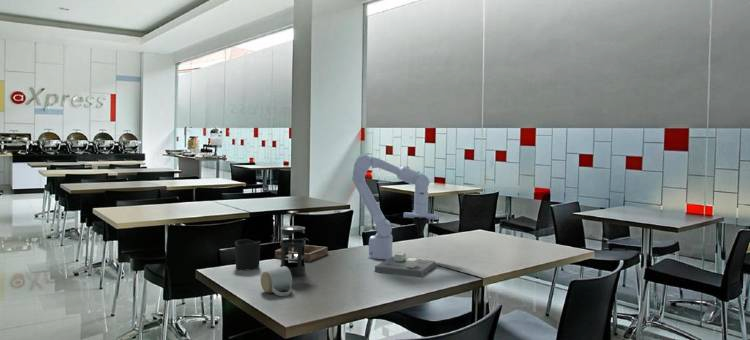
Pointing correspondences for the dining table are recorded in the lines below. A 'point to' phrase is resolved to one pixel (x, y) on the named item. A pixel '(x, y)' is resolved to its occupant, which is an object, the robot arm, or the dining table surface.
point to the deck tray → (311, 254)
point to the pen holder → (247, 254)
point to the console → (404, 267)
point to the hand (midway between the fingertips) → (420, 235)
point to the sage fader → (400, 256)
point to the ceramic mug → (277, 281)
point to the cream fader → (411, 262)
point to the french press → (294, 267)
